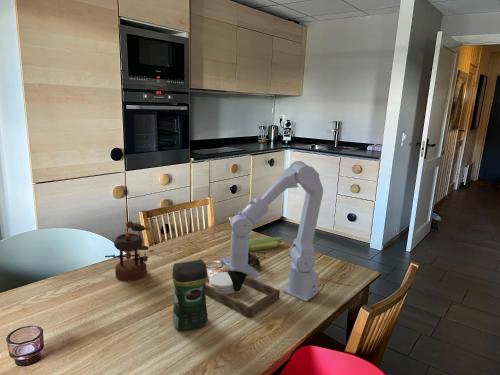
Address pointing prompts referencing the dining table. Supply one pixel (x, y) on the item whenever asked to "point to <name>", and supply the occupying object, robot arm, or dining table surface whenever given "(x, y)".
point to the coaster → (222, 283)
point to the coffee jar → (189, 295)
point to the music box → (130, 242)
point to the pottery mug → (253, 259)
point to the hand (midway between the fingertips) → (237, 290)
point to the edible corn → (264, 243)
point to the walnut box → (241, 307)
